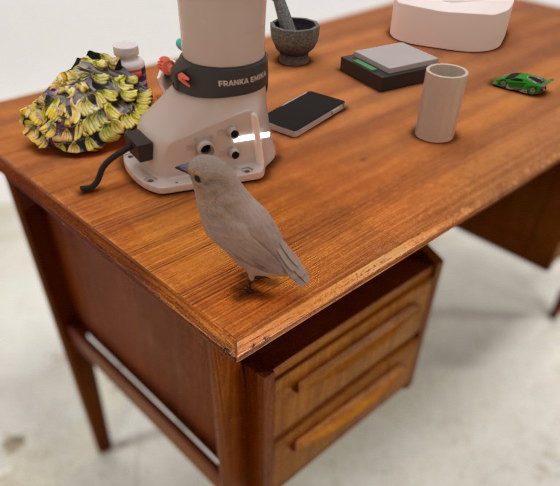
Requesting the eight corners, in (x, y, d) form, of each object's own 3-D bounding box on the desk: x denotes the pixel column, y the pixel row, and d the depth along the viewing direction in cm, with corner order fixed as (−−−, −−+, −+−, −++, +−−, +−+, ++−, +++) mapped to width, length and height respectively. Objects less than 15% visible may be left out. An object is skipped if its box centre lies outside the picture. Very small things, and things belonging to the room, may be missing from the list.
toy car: (489, 85, 108) (492, 72, 107) (499, 78, 111) (502, 66, 109) (542, 97, 104) (546, 84, 102) (550, 90, 106) (554, 77, 105)
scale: (380, 91, 105) (383, 72, 103) (339, 69, 113) (341, 51, 111) (441, 77, 111) (445, 59, 108) (398, 57, 119) (401, 40, 117)
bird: (203, 260, 66) (182, 139, 56) (315, 280, 63) (316, 156, 52) (185, 287, 63) (160, 164, 52) (303, 310, 59) (301, 183, 49)
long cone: (199, 64, 115) (200, 92, 100) (169, 75, 116) (166, 104, 101) (188, 35, 112) (188, 59, 97) (158, 46, 112) (153, 71, 97)
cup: (432, 146, 89) (446, 80, 82) (406, 130, 93) (417, 67, 86) (461, 137, 91) (477, 73, 84) (435, 123, 95) (448, 60, 88)
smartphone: (256, 118, 93) (308, 90, 102) (256, 125, 94) (308, 96, 102) (296, 131, 89) (347, 101, 98) (296, 139, 90) (346, 108, 99)
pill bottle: (137, 113, 96) (128, 52, 89) (111, 107, 97) (100, 46, 91) (156, 101, 99) (148, 42, 93) (131, 96, 101) (121, 37, 94)
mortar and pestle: (327, 61, 116) (331, -5, 108) (294, 72, 112) (297, 4, 103) (288, 48, 122) (289, -16, 114) (256, 57, 117) (255, -8, 109)
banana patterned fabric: (59, 183, 84) (36, 153, 78) (15, 124, 91) (-9, 92, 85) (171, 112, 87) (156, 78, 82) (120, 60, 94) (104, 25, 89)
